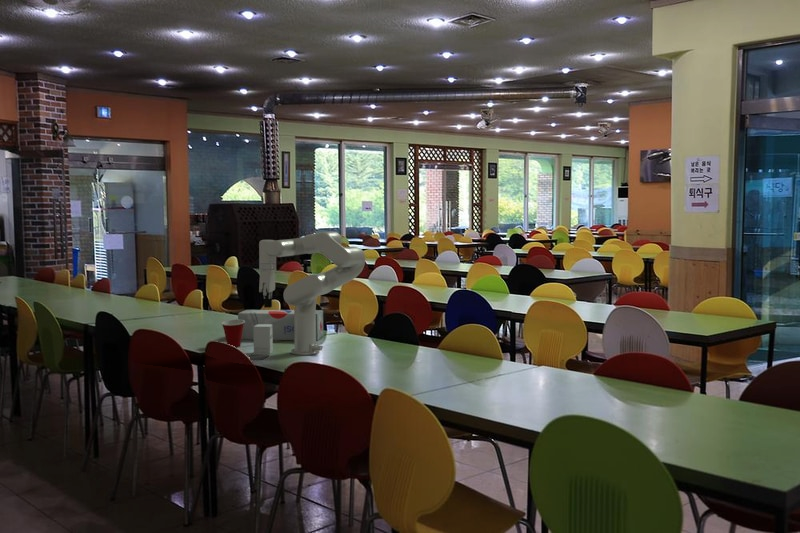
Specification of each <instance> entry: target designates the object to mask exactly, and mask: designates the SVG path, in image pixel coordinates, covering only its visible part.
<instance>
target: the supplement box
mask: <svg viewBox="0 0 800 533" xmlns="http://www.w3.org/2000/svg"><path fill="white" fill-rule="evenodd" d="M253 330H254V339H253V354H255V355H269V356H270V354H271V353H273V351H274V350H273V349H274V348H273V343H274V342H273V341H274V340H273V335H272V324H257V325H255V326H254V327H253Z"/></svg>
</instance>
